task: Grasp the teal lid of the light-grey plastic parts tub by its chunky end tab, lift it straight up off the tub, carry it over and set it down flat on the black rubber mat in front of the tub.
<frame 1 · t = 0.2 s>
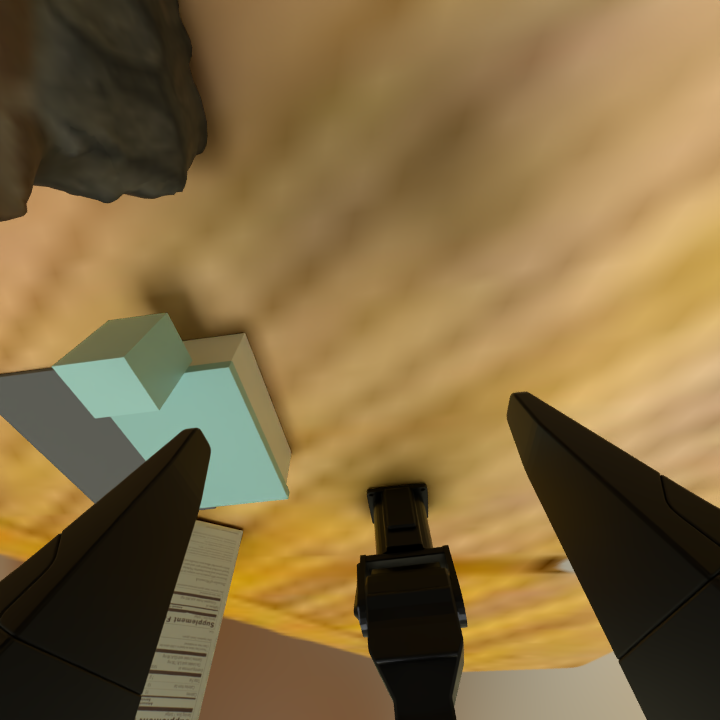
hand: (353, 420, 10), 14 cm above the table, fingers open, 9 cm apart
tub: (222, 407, 28), on the table
mat: (115, 452, 31), on the table
lid: (208, 437, 25), point 3 cm above the table, touching tub
supplement box: (195, 536, 40), on the table, touching mat
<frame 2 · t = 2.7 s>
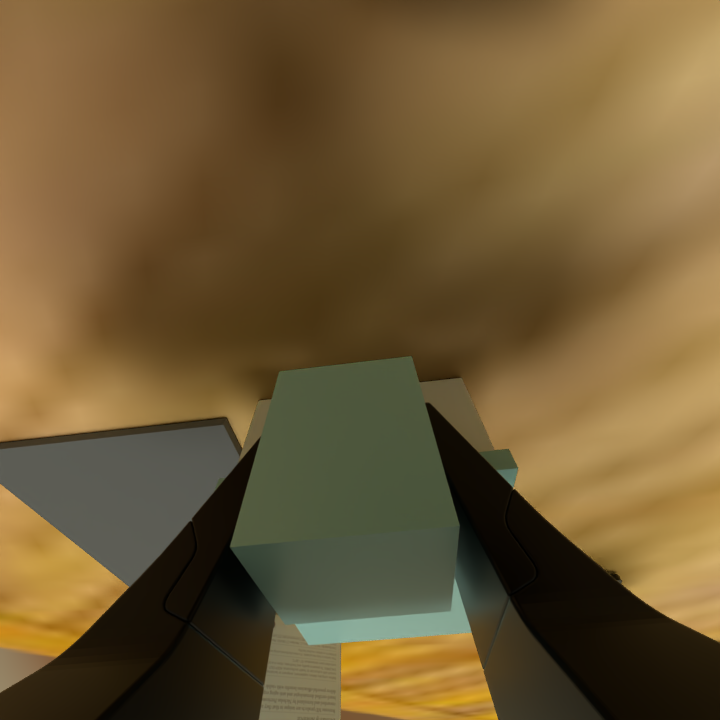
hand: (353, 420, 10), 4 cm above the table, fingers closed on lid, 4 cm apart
tub: (374, 485, 18), on the table
mat: (188, 542, 21), on the table
lid: (378, 551, 15), point 3 cm above the table, touching gripper, tub
supplement box: (273, 628, 30), on the table, touching mat
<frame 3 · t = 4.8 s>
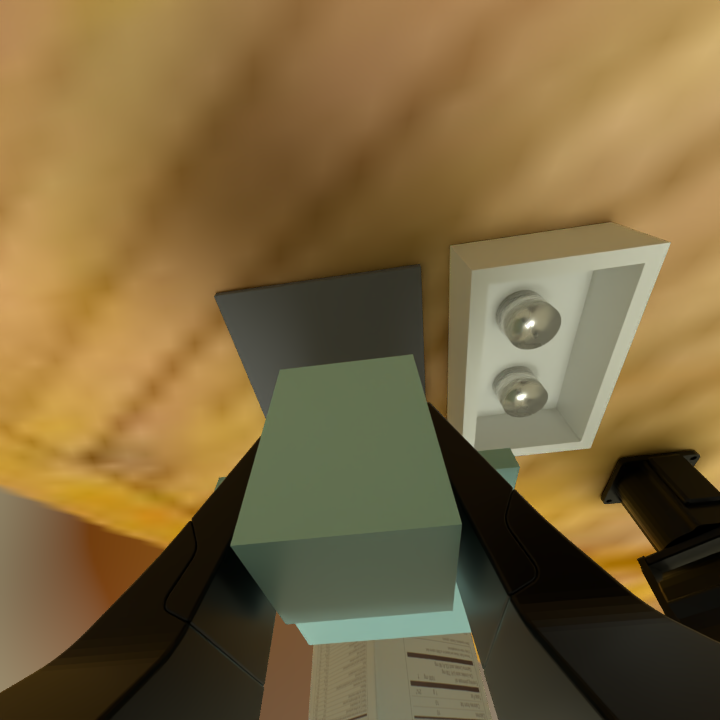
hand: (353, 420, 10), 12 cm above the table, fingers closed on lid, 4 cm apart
tub: (513, 339, 22), on the table
bushing b: (519, 311, 20), point 1 cm above the table, touching tub
mat: (344, 405, 25), on the table
lid: (379, 551, 15), point 11 cm above the table, touching gripper
supplement box: (379, 518, 34), on the table, touching mat
bushing a: (512, 382, 23), point 1 cm above the table, touching tub
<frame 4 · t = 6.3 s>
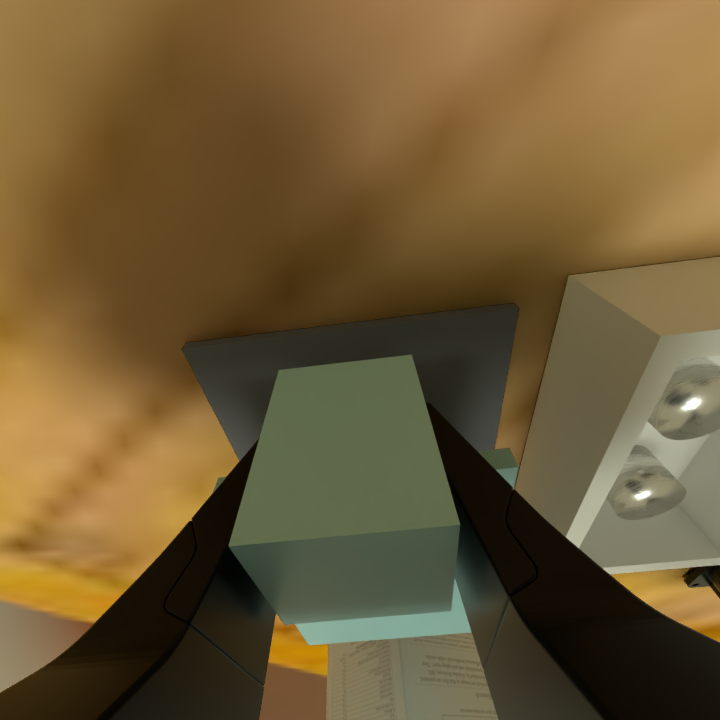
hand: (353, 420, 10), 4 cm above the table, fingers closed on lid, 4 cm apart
tub: (629, 407, 15), on the table
bushing b: (658, 375, 13), point 1 cm above the table, touching tub
mat: (373, 486, 18), on the table
lid: (379, 551, 15), point 3 cm above the table, touching gripper
supplement box: (404, 601, 27), on the table, touching mat
bushing a: (618, 464, 16), point 1 cm above the table, touching tub
when the fingers open (2 cm above the table, at t = 7.3 s): lid drops 2 cm, resting on mat.
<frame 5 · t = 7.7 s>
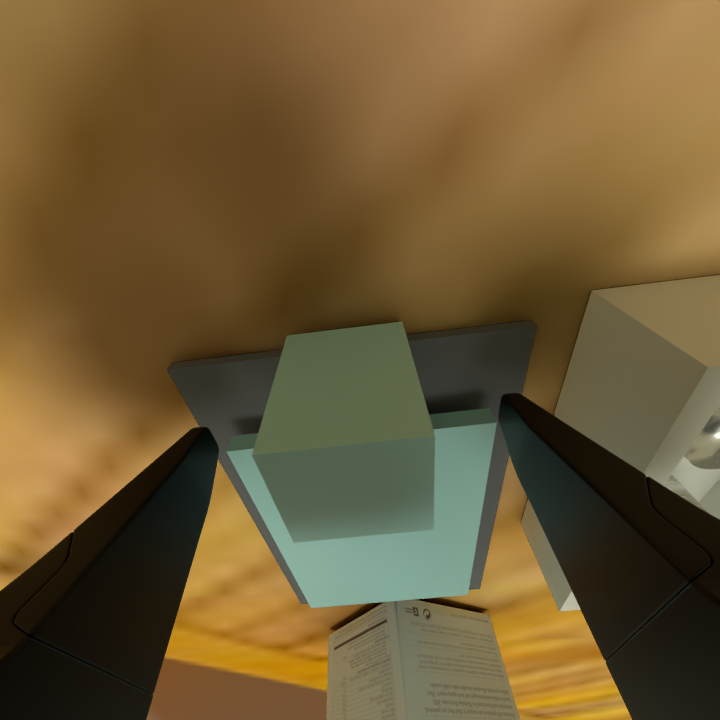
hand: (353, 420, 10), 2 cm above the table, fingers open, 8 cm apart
tub: (650, 428, 14), on the table
bushing b: (685, 397, 12), point 1 cm above the table, touching tub
mat: (375, 508, 17), on the table
lid: (375, 514, 16), resting on mat
supplement box: (406, 620, 26), on the table, touching mat
bushing a: (637, 487, 15), point 1 cm above the table, touching tub
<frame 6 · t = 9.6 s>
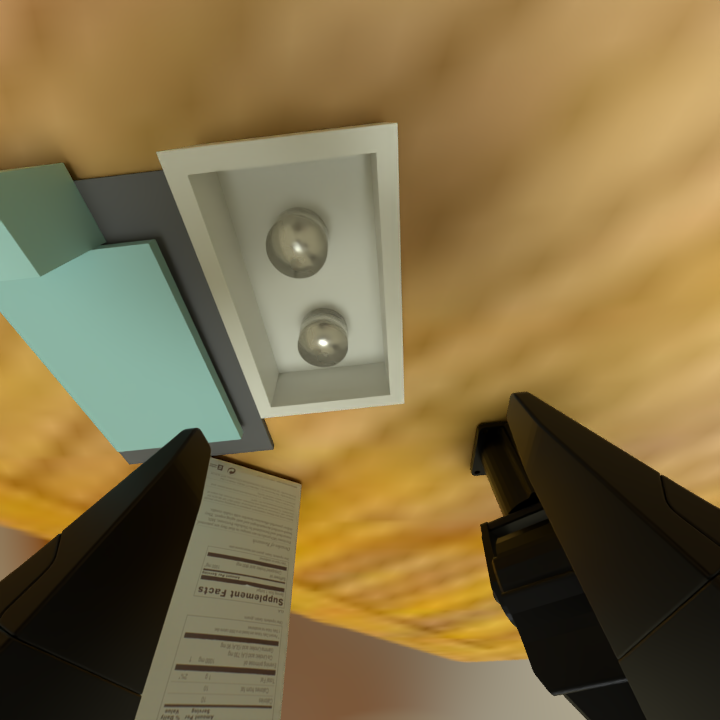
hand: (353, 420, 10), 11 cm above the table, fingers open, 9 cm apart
tub: (316, 276, 19), on the table
bushing b: (300, 236, 17), point 1 cm above the table, touching tub
mat: (144, 355, 21), on the table
lid: (140, 357, 21), resting on mat
supplement box: (237, 492, 31), on the table, touching mat
bushing a: (324, 328, 20), point 1 cm above the table, touching tub
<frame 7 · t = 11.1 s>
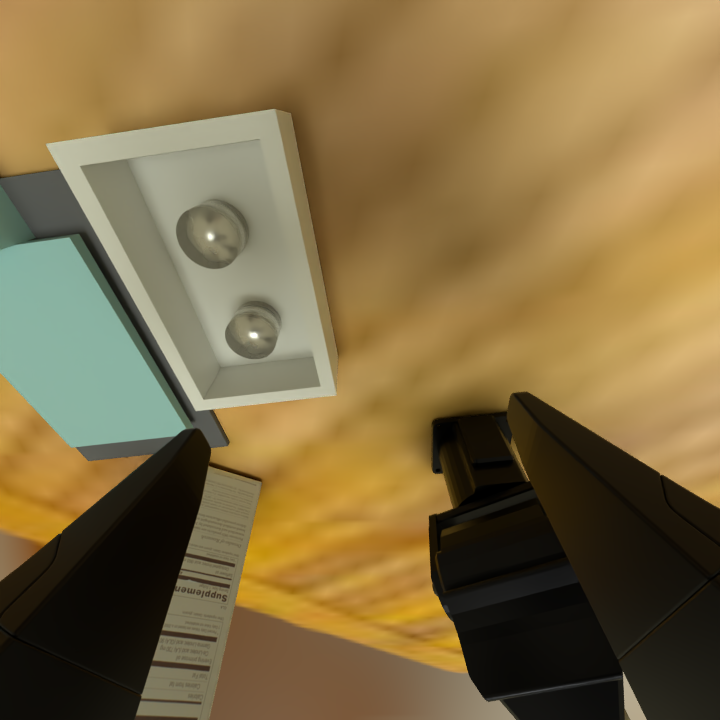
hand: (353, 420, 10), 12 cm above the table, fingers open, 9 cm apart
tub: (246, 269, 19), on the table
bushing b: (221, 229, 17), point 1 cm above the table, touching tub
mat: (89, 351, 22), on the table
lid: (84, 352, 21), resting on mat
supplement box: (199, 490, 31), on the table, touching mat
bushing a: (258, 321, 20), point 1 cm above the table, touching tub
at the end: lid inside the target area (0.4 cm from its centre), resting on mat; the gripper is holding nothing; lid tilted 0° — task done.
